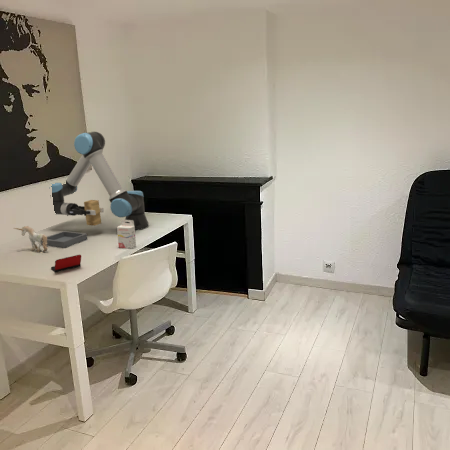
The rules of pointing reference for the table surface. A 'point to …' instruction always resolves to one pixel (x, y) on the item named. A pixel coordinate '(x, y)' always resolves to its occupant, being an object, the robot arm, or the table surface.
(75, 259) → the handheld game console
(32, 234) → the unicorn figurine
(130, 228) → the ink cartridge box
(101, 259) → the table surface
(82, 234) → the tray
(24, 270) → the table surface
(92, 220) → the ochre block
